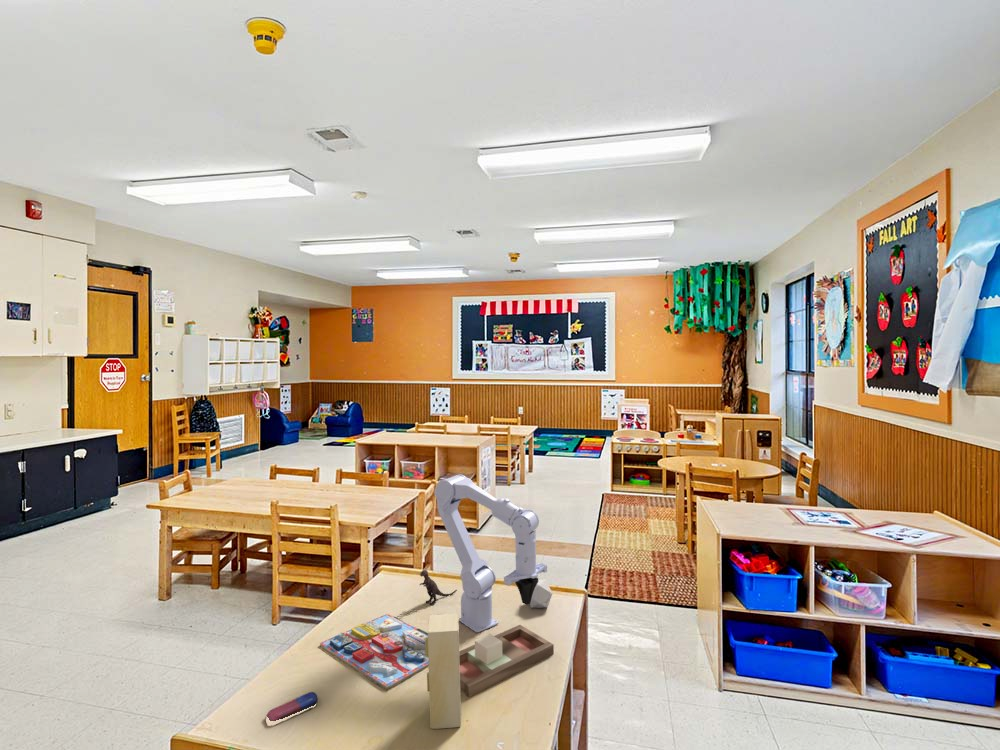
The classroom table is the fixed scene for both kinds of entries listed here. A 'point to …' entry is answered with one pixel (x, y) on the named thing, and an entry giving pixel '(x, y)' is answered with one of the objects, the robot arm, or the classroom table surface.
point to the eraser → (293, 706)
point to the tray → (502, 659)
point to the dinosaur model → (432, 588)
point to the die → (541, 595)
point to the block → (488, 648)
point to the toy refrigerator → (443, 671)
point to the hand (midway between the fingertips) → (526, 603)
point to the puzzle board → (382, 650)
